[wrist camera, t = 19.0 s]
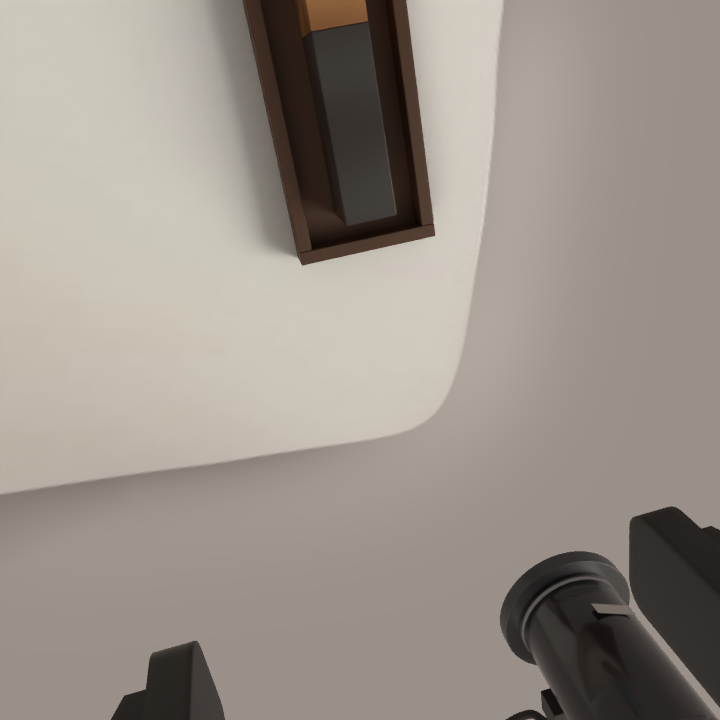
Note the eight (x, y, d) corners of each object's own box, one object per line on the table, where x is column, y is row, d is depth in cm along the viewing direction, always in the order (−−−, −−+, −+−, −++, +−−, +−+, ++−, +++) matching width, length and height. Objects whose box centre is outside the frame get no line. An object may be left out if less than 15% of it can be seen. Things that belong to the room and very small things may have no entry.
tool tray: (426, 229, 42) (435, 235, 40) (298, 258, 41) (302, 265, 39) (363, -252, 32) (372, -273, 30) (193, -231, 31) (191, -251, 29)
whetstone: (381, 204, 40) (397, 215, 37) (334, 214, 40) (346, 226, 37) (318, -192, 32) (331, -229, 29) (259, -184, 32) (265, -220, 28)
